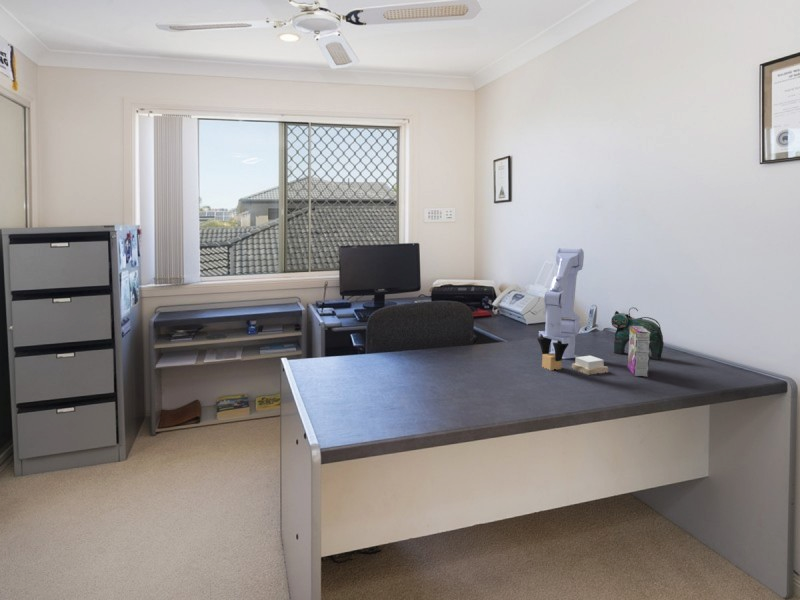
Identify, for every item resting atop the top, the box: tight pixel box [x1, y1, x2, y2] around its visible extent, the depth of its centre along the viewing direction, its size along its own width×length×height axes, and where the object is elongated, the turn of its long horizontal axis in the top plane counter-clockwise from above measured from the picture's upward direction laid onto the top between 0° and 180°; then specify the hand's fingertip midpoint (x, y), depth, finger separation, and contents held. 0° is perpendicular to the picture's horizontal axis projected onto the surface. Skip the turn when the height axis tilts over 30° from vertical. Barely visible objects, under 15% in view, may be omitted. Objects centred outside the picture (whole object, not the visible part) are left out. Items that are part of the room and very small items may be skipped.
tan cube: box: [541, 352, 562, 371], centre depth 197 cm, size 5×5×5 cm
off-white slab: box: [574, 355, 605, 369], centre depth 194 cm, size 7×7×2 cm
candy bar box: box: [627, 326, 651, 378], centre depth 190 cm, size 11×5×16 cm, turn 168°
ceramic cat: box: [611, 307, 665, 360], centre depth 214 cm, size 20×6×20 cm, turn 49°
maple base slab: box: [571, 362, 609, 376], centre depth 194 cm, size 9×9×2 cm
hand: (551, 358), depth 197 cm, fingers open, 7 cm apart
